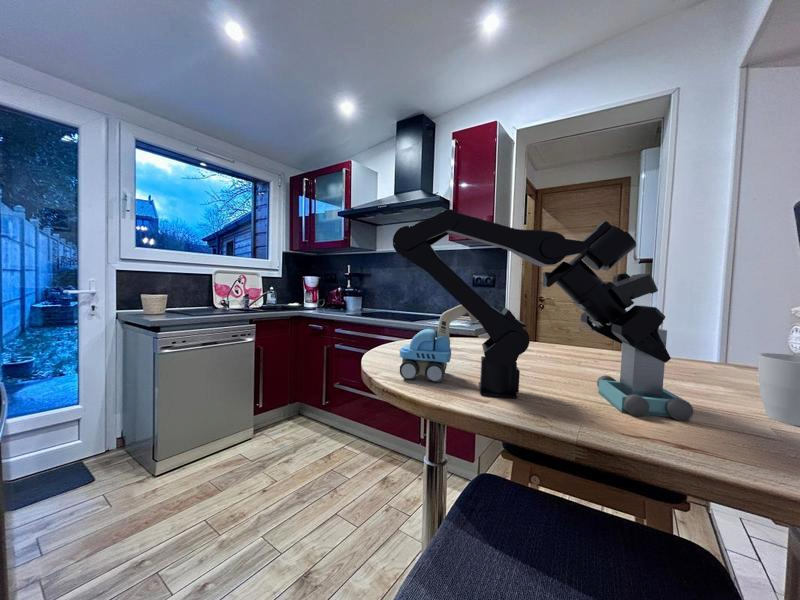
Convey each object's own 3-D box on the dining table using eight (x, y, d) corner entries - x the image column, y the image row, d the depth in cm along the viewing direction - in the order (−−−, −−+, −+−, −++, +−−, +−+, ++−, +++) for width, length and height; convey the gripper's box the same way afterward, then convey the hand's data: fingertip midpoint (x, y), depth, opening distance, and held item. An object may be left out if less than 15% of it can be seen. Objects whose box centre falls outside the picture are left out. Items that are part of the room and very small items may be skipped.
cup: (851, 436, 46) (859, 368, 45) (776, 426, 49) (783, 361, 48) (802, 414, 54) (808, 355, 53) (740, 407, 56) (745, 351, 56)
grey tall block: (631, 404, 55) (636, 329, 54) (618, 395, 59) (623, 325, 58) (661, 407, 54) (667, 330, 53) (646, 397, 58) (651, 326, 57)
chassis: (625, 415, 51) (626, 395, 51) (595, 390, 63) (596, 374, 63) (693, 422, 50) (695, 401, 49) (650, 395, 61) (651, 378, 61)
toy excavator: (476, 387, 64) (480, 301, 63) (395, 379, 67) (397, 298, 66) (476, 375, 72) (479, 299, 71) (403, 369, 76) (405, 296, 74)
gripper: (654, 251, 46) (738, 331, 45) (601, 260, 65) (659, 317, 63) (591, 303, 49) (669, 381, 47) (557, 297, 67) (612, 353, 65)
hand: (651, 354), depth 56 cm, fingers open, 9 cm apart
